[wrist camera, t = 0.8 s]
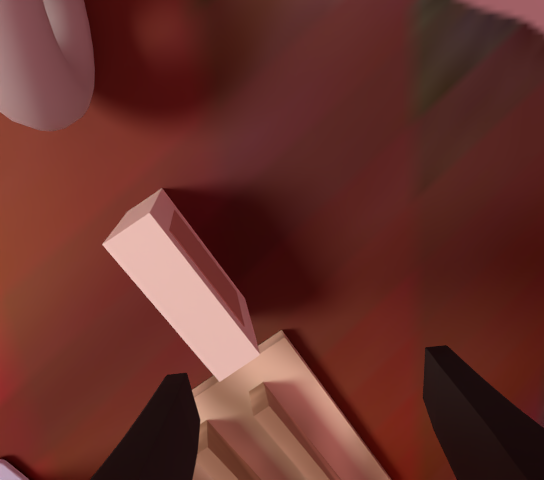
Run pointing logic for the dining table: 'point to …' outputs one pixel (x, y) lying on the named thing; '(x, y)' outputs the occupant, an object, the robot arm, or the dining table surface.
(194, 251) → the pale pink flat block
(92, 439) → the dining table surface
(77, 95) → the donut
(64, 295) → the dining table surface
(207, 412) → the notched stand
